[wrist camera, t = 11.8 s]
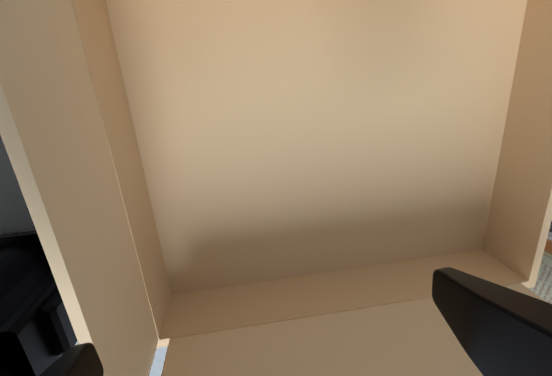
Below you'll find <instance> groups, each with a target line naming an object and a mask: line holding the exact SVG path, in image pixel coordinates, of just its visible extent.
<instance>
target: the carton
mask: <svg viewBox="0 0 552 376" xmlns="http://www.w3.org/2000/svg"><path fill="white" fill-rule="evenodd" d="M0 135H1V138H2V140H3V143H4V146H5V148H6V151H7V154H8V156H9V159H10V162H11V164H12V167H13V170H14V172H15V175H16V178H17V180H18V183H19V186H20V188H21V191H22V194H23V196H24V199H25V202H26V204H27V207H28V210H29V212H30V215H31V218H32V220H33V223H34V226H35V228H36V231H37V234H38V236H39V239H40V242H41V244H42V247H43V250H44V252H45V255H46V258H47V260H48V263H49V266H50V268H51V271H52V274H53V276H54V279H55V282H56V284H57V287H58V290H59V292H60V295H61V298H62V300H63V303H64V306H65V308H66V311H67V314H68V316H69V319H70V322H71V324H72V327H73V330H74V332H75V335H76V338H77V340H78V343H79V344H83V343H88V342H89V343H92V344H93V345H94V346H95V349H96V351H97V353H98V356H99V358H100V360H101V363H102V365H103V369H104V375H103V376H149V373H150V370H151V366H152V362H153V359H154V355H155V351H156V348H160V347H166V346H168V348H167V353H166V357H165V362H164V366H163V370H162V375H161V376H483V375H482V373H481V372H480V371H479V370H478V368H477V367H476V366H475V364H474V363H473V362H472V360H471V359H470V358H469V356H468V355H467V353H466V352H465V350H464V349H463V347H462V346H461V344H460V343H459V341H458V340H457V338H456V336H455V335H454V333H453V332H452V330H451V328H450V327H449V325H448V324H447V322H446V321H445V319H444V317H443V316H442V314H441V313H440V311H439V309H438V308H437V306H436V305H435V303H434V301H433V298H432V280H433V272H434V270H436V269H440V268H444V267H451V268H454V269H457V270H460V271H462V272H465V273H468V274H471V275H474V276H476V277H479V278H482V279H485V280H487V281H490V282H493V283H496V284H498V285H501V286H504V287H507V288H509V289H512V290H515V291H518V292H520V293H523V294H526V295H529V296H531V297H534V298H537V299H540V300H543V301H545V300H544V299H542V298H541V297H539V296H538V295H537V294H535V293H534V292H532V291H531V290H530V289H528V288H532V287H535V283H536V279H537V276H538V272H539V268H540V264H541V260H542V256H543V252H544V248H545V245H546V241H547V237H548V233H549V229H550V225H551V221H552V0H0ZM545 302H546V301H545Z"/></svg>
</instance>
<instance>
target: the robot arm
mask: <svg viewBox="0 0 552 376" xmlns="http://www.w3.org/2000/svg"><path fill="white" fill-rule="evenodd" d="M432 298H433V301H434V303H435V305H436V306H437V308H438V309H439V311H440V313H441V314H442V316H443V317H444V319H445V321H446V322H447V324H448V325H449V327H450V328H451V330H452V332H453V333H454V335H455V336H456V338H457V340H458V341H459V343H460V344H461V346H462V347H463V349H464V350H465V352H466V353H467V355H468V356H469V358H470V359H471V360H472V362H473V363H474V364H475V366H476V367H477V368H478V370H479V371H480V372H481V373H482V375H483V376H552V304H551V303H548V302H545V301H543V300H540V299H537V298H534V297H531V296H529V295H526V294H523V293H520V292H518V291H515V290H512V289H509V288H507V287H504V286H501V285H498V284H496V283H493V282H490V281H487V280H485V279H482V278H479V277H476V276H474V275H471V274H468V273H465V272H462V271H460V270H457V269H454V268H451V267H444V268H440V269H436V270H434V272H433V280H432ZM76 342H77V338H76V335H75V332H74V330H73V327H72V324H71V322H70V319H69V316H68V314H67V311H66V308H65V306H64V303H63V300H62V298H61V295H60V292H59V290H58V287H57V284H56V282H55V279H54V276H53V274H52V271H51V268H50V266H49V263H48V260H47V258H46V255H45V252H44V250H43V247H42V244H41V242H40V239H39V236H38V234H37V231H30V232H21V233H13V234H4V235H0V376H103V375H104V369H103V365H102V363H101V360H100V358H99V356H98V353H97V351H96V349H95V346H94V345H93V344H92V343H89V342H88V343H83V344H78V345H75V344H76Z"/></svg>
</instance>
